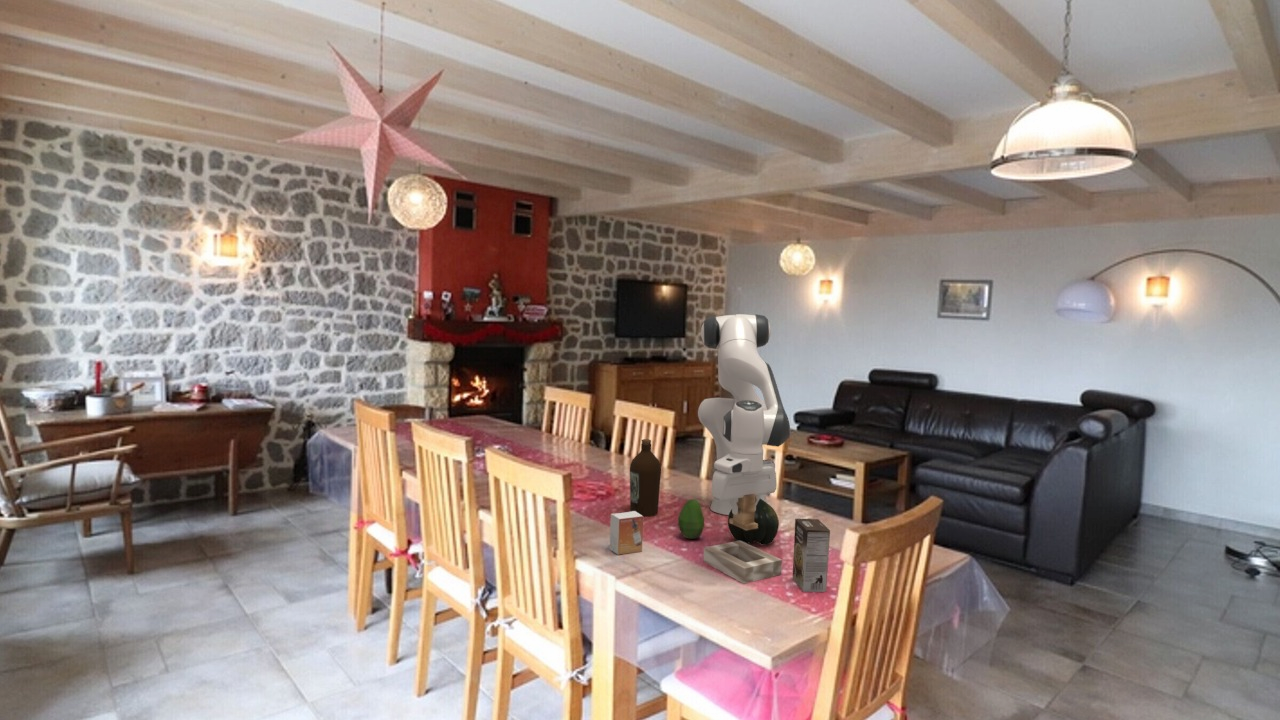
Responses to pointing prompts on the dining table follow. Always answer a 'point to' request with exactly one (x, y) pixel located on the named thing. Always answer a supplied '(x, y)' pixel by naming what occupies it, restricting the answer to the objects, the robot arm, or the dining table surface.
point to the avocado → (691, 519)
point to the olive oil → (645, 481)
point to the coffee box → (811, 555)
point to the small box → (626, 532)
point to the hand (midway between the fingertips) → (743, 512)
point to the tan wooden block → (745, 513)
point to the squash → (766, 526)
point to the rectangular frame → (742, 561)
